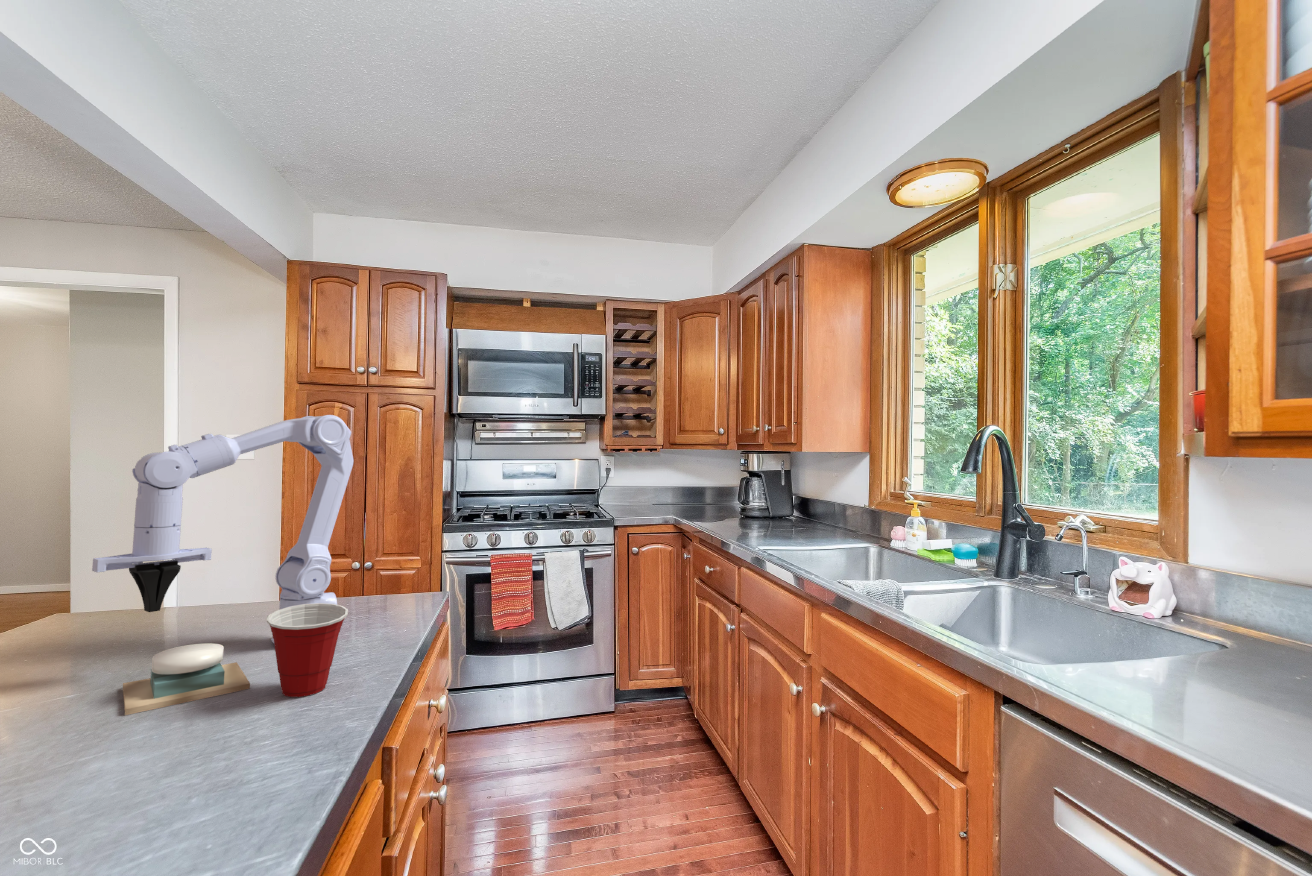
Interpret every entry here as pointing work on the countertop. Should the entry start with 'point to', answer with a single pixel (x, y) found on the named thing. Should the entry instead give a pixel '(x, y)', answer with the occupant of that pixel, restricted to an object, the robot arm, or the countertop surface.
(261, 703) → the countertop surface
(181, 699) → the dispenser base
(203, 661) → the disc
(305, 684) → the plastic cup
